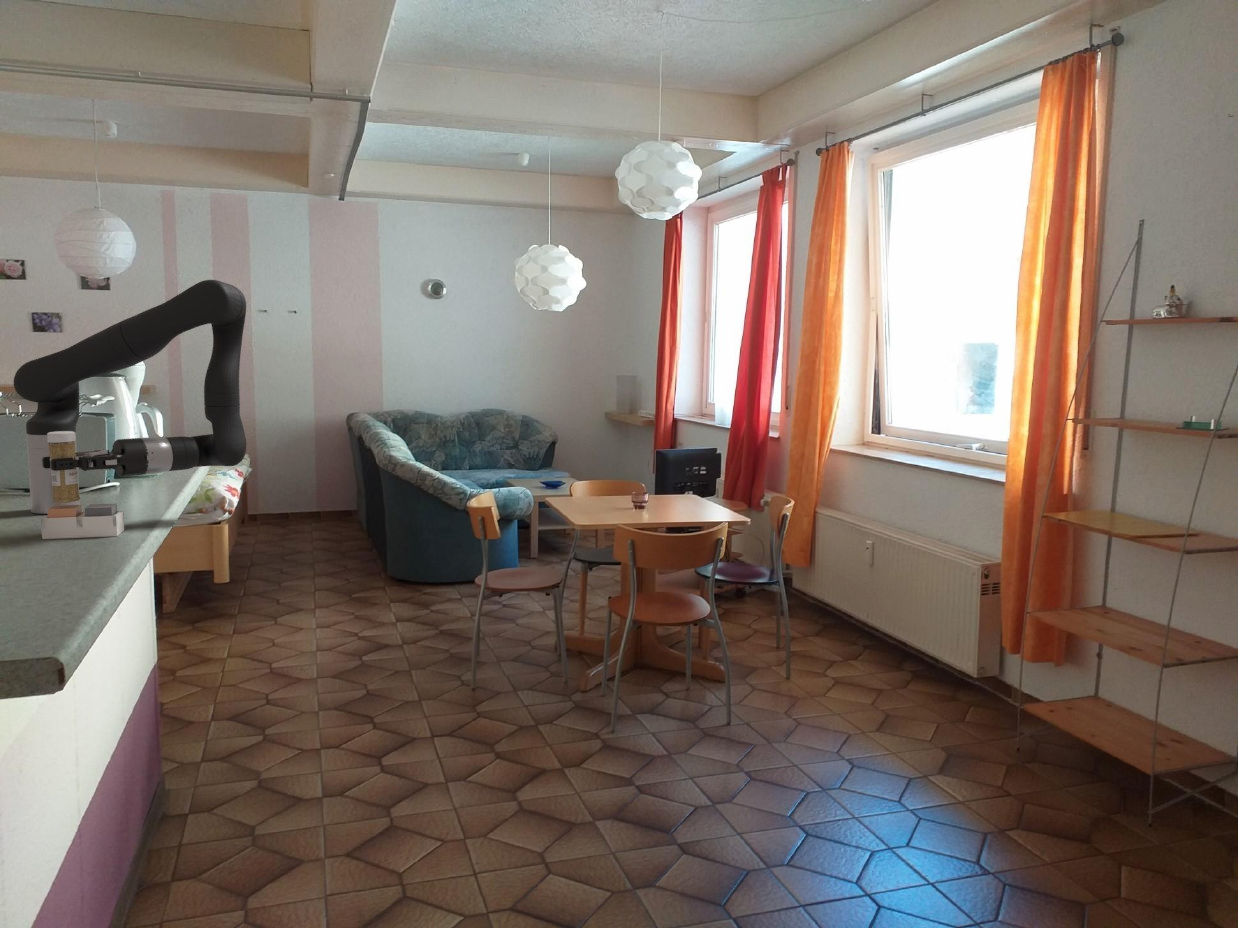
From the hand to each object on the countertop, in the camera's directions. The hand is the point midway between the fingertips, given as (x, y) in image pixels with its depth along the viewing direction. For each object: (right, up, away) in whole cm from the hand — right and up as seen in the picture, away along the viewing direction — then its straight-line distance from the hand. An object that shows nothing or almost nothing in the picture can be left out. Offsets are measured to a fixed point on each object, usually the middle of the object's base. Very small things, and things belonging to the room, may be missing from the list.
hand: (47, 463), depth 171 cm
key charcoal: (+7, -10, +5) cm, 13 cm away
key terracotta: (+1, -10, +3) cm, 11 cm away
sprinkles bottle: (+2, -7, +3) cm, 8 cm away
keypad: (+4, -14, +4) cm, 15 cm away
